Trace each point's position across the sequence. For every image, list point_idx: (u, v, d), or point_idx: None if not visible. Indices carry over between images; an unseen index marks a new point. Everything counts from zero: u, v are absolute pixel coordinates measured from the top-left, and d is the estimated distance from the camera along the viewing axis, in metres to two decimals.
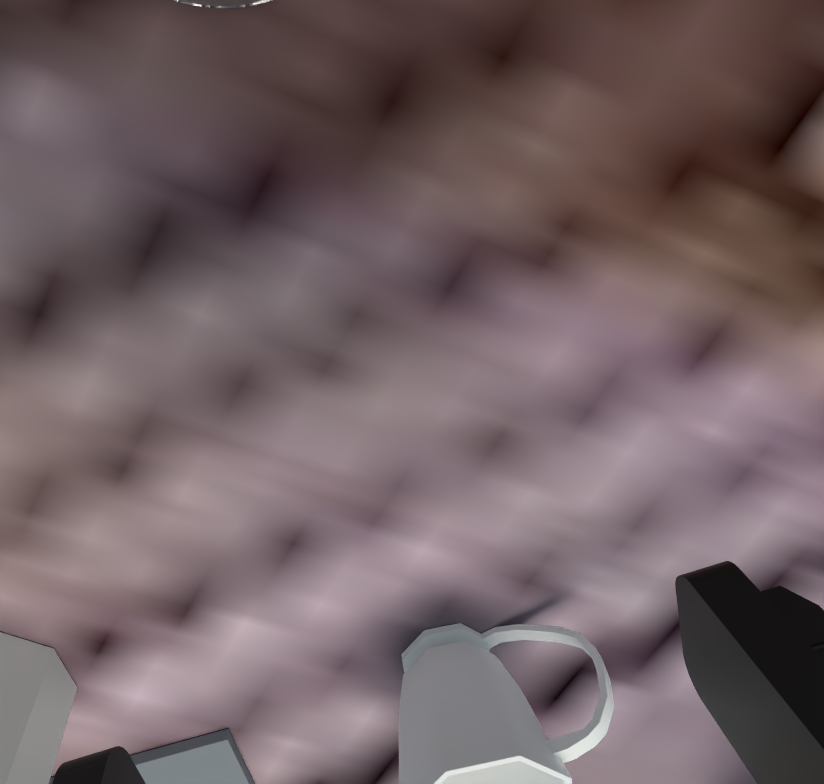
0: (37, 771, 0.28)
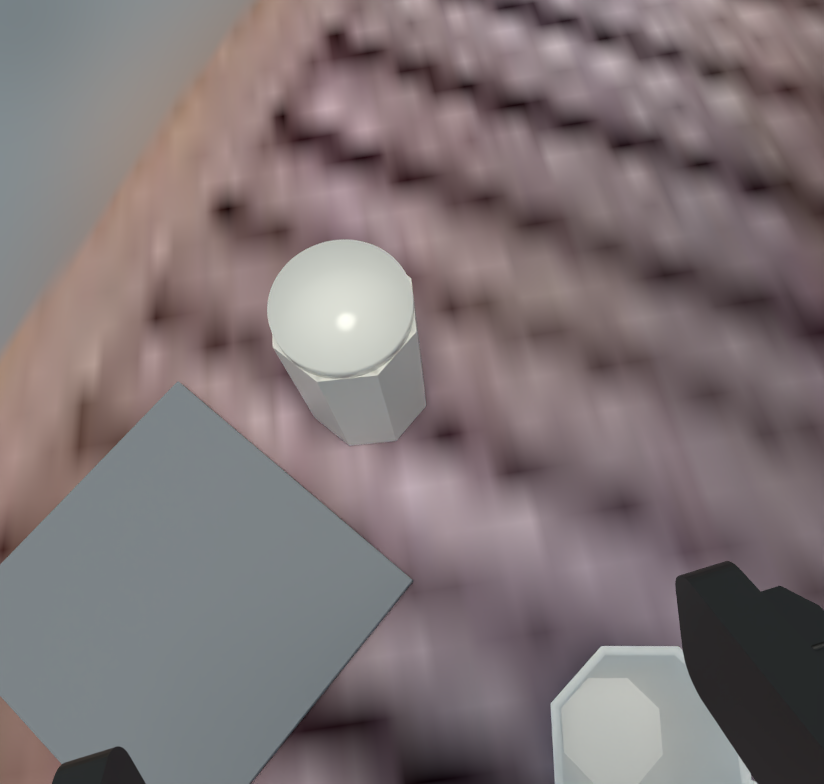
0: (400, 397, 0.34)
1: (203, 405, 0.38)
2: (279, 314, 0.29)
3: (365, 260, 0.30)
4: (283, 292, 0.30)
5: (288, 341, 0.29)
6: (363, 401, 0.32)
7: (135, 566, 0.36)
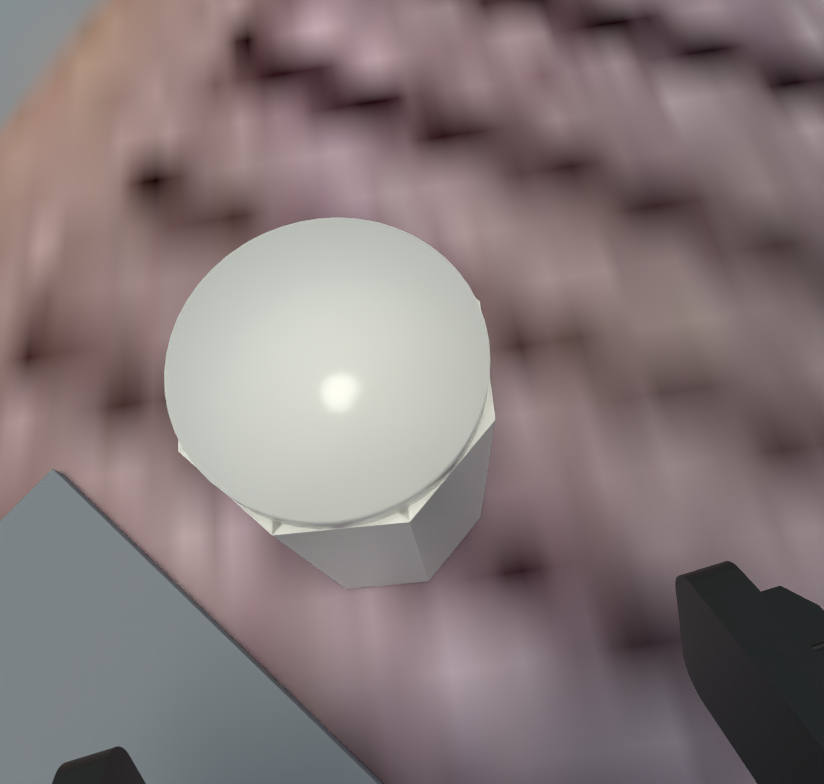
0: (445, 528, 0.17)
1: (93, 513, 0.22)
2: (190, 381, 0.13)
3: (383, 262, 0.14)
4: (202, 331, 0.14)
5: (207, 445, 0.13)
6: (375, 551, 0.16)
7: None
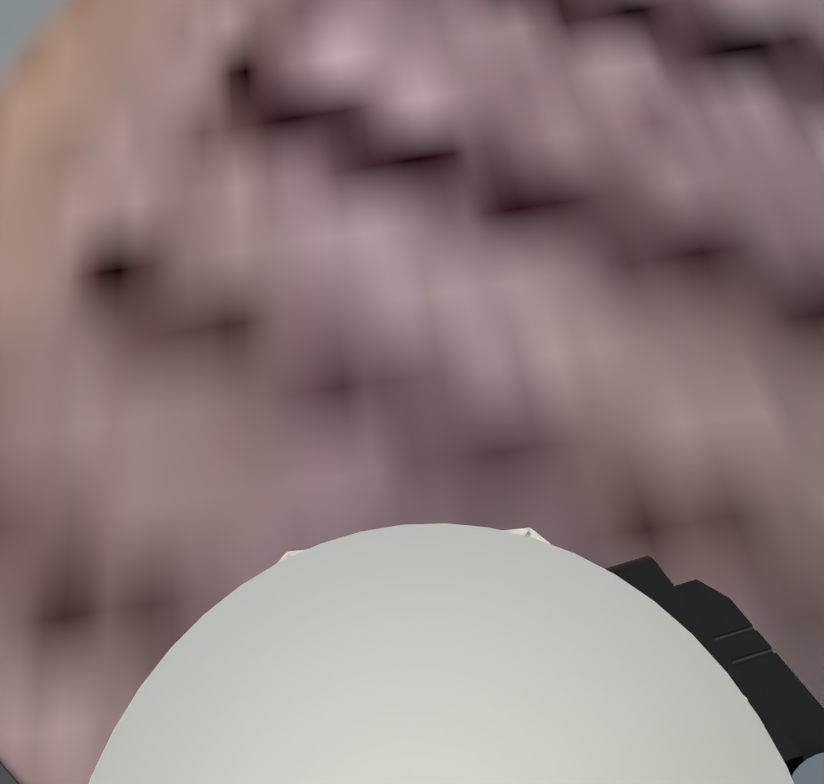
0: None
1: None
2: None
3: (552, 643, 0.06)
4: None
5: None
6: None
7: None
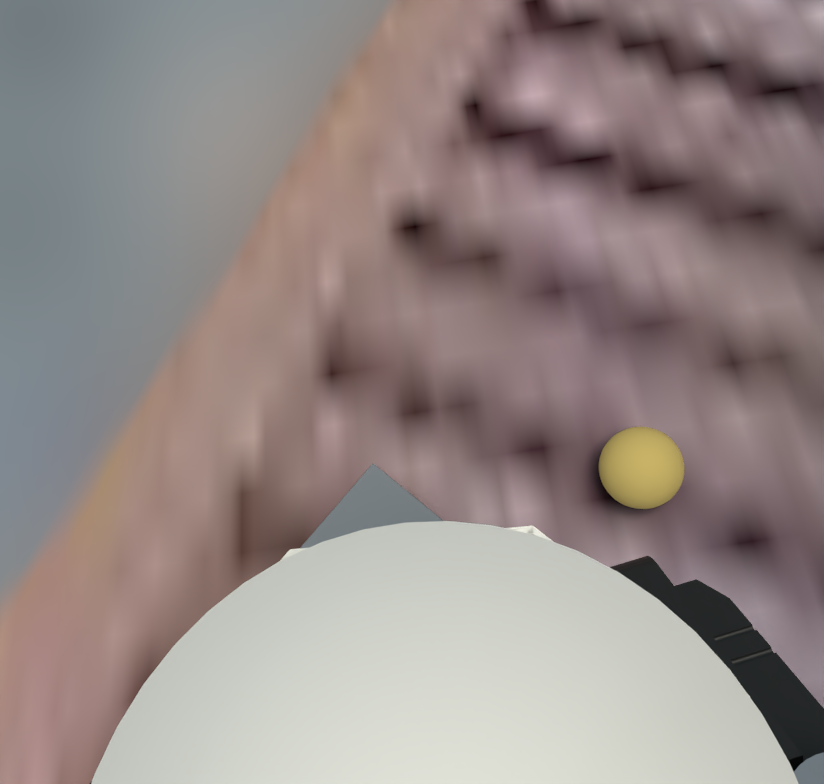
0: None
1: (411, 498, 0.28)
2: None
3: (555, 640, 0.06)
4: None
5: None
6: None
7: None
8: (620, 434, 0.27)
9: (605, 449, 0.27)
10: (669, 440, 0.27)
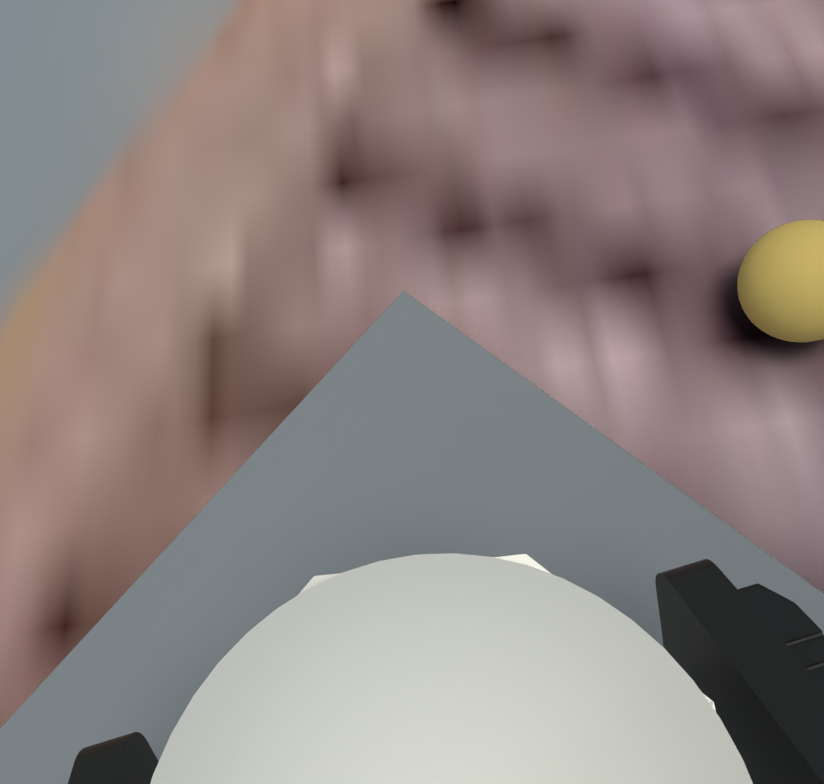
0: None
1: (460, 336, 0.19)
2: None
3: (545, 656, 0.07)
4: None
5: None
6: None
7: None
8: (774, 229, 0.18)
9: (751, 253, 0.18)
10: None
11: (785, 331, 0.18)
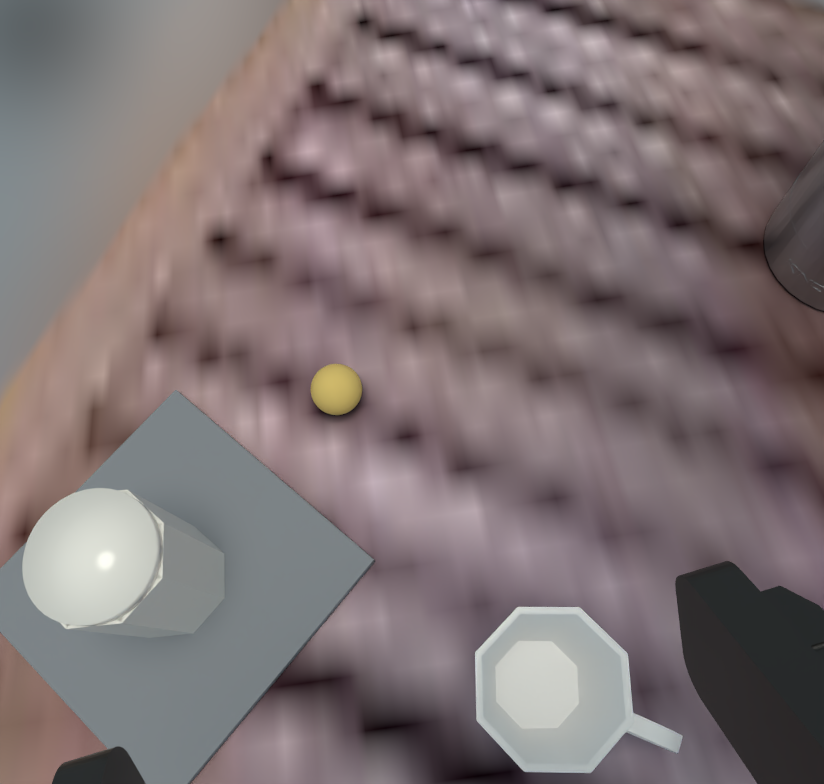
0: (174, 614, 0.36)
1: (197, 410, 0.45)
2: (33, 564, 0.32)
3: (117, 510, 0.32)
4: (39, 542, 0.32)
5: (38, 593, 0.31)
6: (128, 628, 0.34)
7: None
8: (322, 368, 0.43)
9: None
10: (349, 371, 0.43)
11: (324, 411, 0.43)
